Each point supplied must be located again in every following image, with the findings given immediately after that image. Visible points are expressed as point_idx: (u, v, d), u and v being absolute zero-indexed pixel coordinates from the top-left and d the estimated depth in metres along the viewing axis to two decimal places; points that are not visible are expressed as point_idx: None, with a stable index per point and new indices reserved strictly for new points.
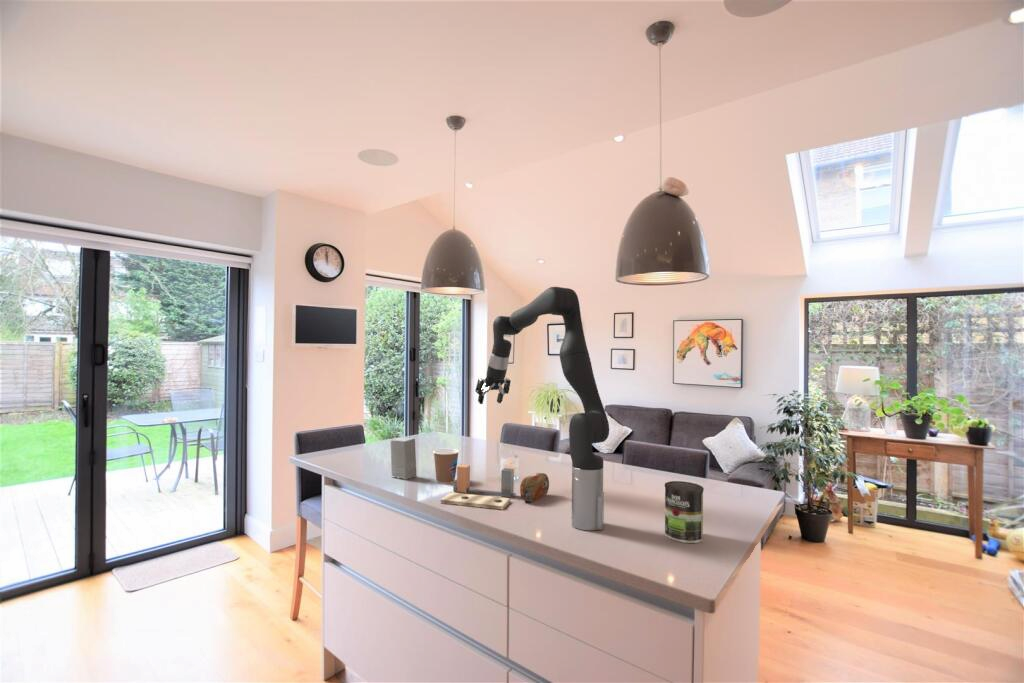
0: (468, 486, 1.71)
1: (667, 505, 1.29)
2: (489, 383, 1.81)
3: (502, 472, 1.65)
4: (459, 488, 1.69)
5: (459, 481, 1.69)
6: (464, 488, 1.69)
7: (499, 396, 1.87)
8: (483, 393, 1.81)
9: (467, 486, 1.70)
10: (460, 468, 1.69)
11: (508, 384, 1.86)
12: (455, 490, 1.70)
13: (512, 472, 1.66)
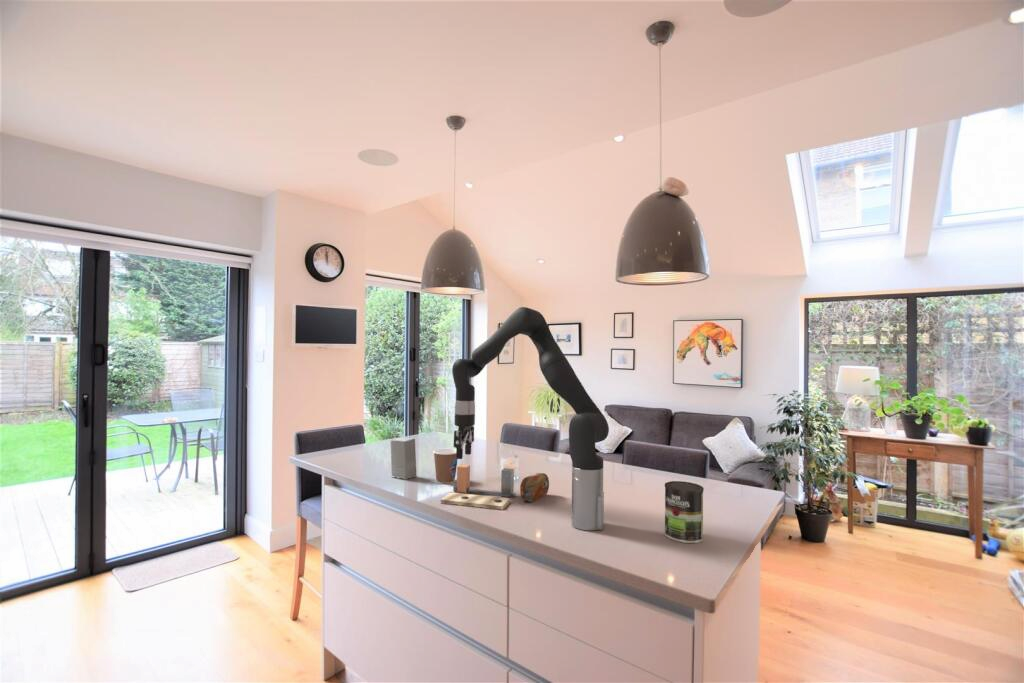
0: (468, 486, 1.71)
1: (667, 505, 1.29)
2: (464, 433, 1.69)
3: (502, 472, 1.65)
4: (459, 488, 1.69)
5: (459, 481, 1.69)
6: (464, 488, 1.69)
7: (468, 447, 1.75)
8: (462, 445, 1.67)
9: (467, 486, 1.70)
10: (460, 468, 1.69)
11: (473, 431, 1.77)
12: (455, 490, 1.70)
13: (512, 472, 1.66)
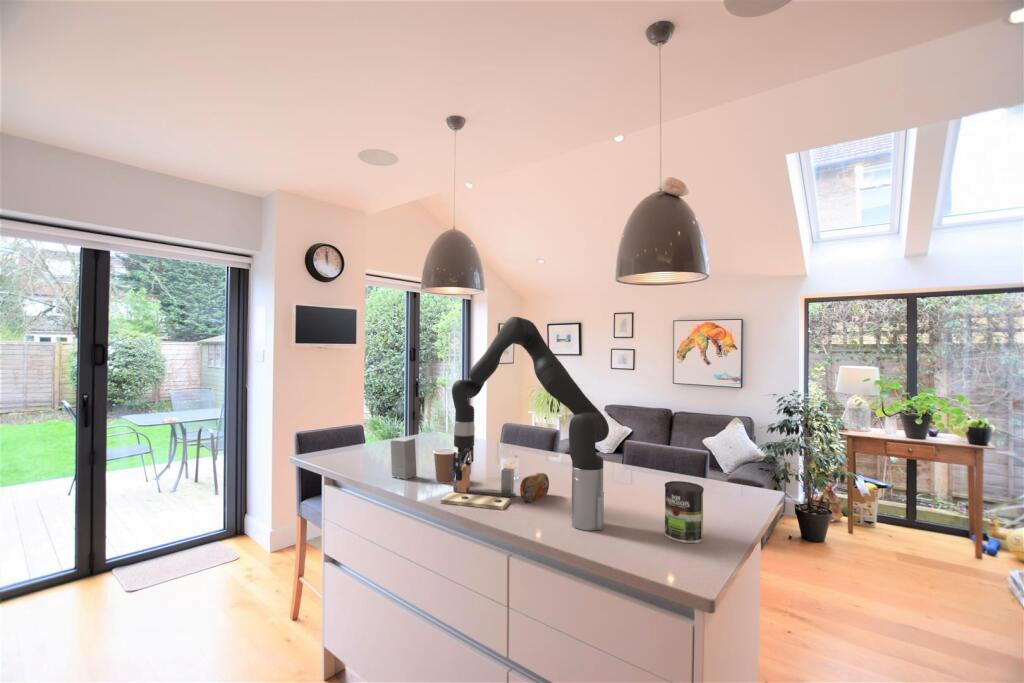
0: (468, 486, 1.71)
1: (667, 505, 1.29)
2: (463, 454, 1.68)
3: (502, 472, 1.65)
4: (459, 488, 1.69)
5: (459, 481, 1.69)
6: (464, 488, 1.69)
7: None
8: (461, 467, 1.66)
9: (467, 486, 1.70)
10: None
11: (472, 451, 1.77)
12: (455, 490, 1.70)
13: (512, 472, 1.66)
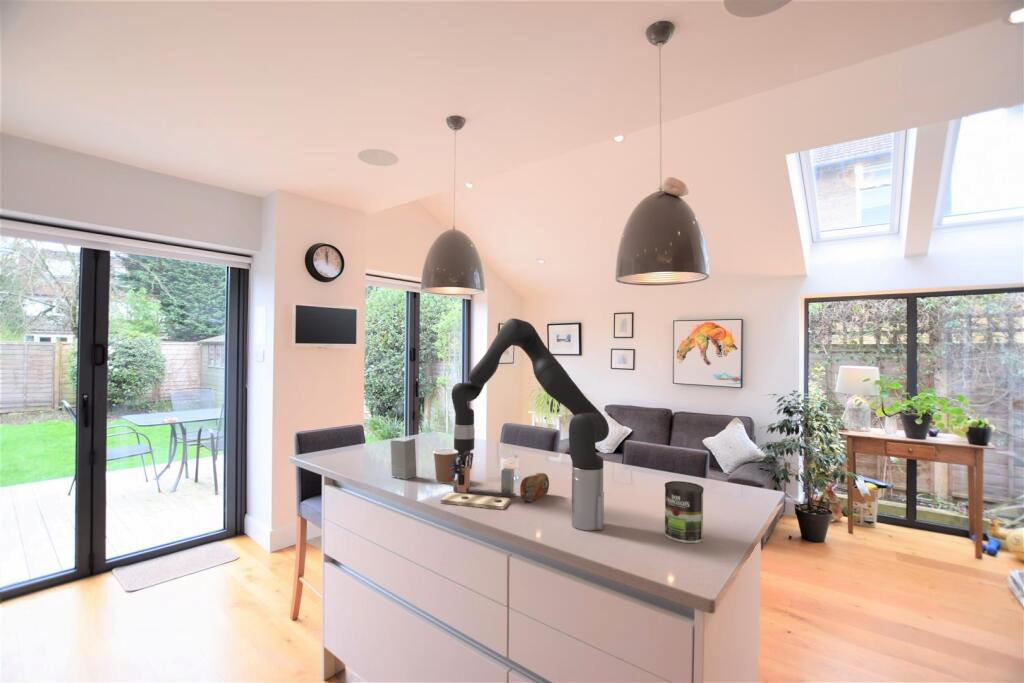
0: (468, 486, 1.71)
1: (667, 505, 1.29)
2: (463, 459, 1.68)
3: (502, 472, 1.65)
4: (459, 488, 1.69)
5: None
6: (464, 488, 1.69)
7: None
8: (463, 472, 1.68)
9: (467, 486, 1.70)
10: None
11: (472, 458, 1.76)
12: (455, 490, 1.70)
13: (512, 472, 1.66)
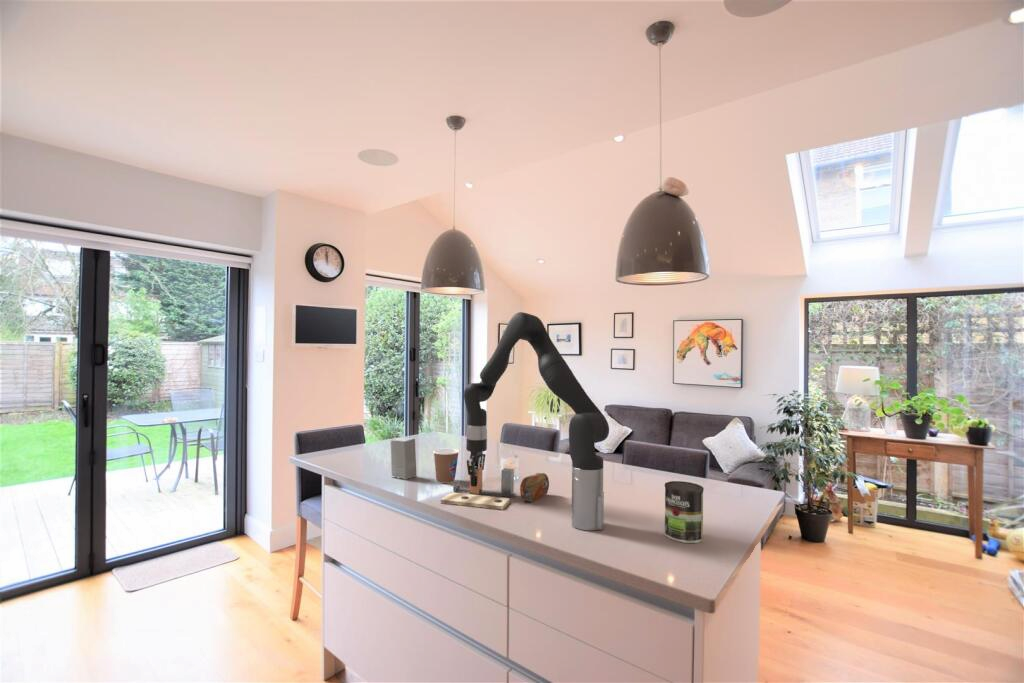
0: (481, 487, 1.69)
1: (667, 505, 1.29)
2: (476, 460, 1.67)
3: (502, 472, 1.65)
4: (472, 490, 1.68)
5: None
6: (477, 489, 1.67)
7: None
8: (476, 473, 1.67)
9: (480, 487, 1.68)
10: None
11: (484, 459, 1.75)
12: (455, 490, 1.70)
13: (512, 472, 1.66)
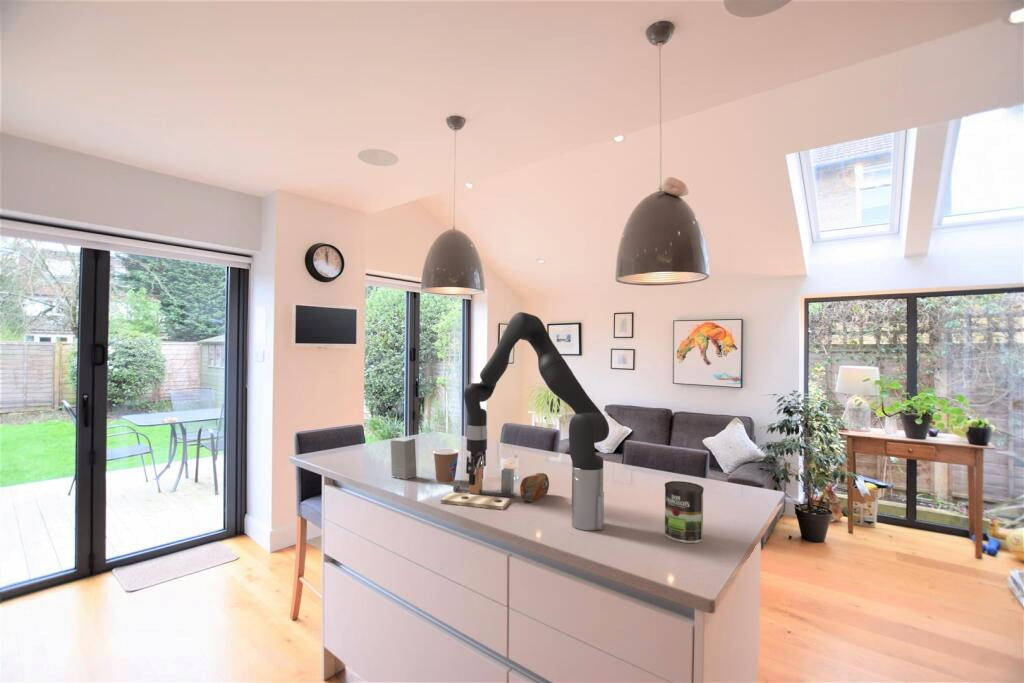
0: (481, 487, 1.69)
1: (667, 505, 1.29)
2: (476, 458, 1.67)
3: (502, 472, 1.65)
4: (472, 490, 1.68)
5: None
6: (477, 489, 1.67)
7: None
8: (474, 471, 1.65)
9: (480, 487, 1.68)
10: None
11: (485, 455, 1.75)
12: (455, 490, 1.70)
13: (512, 472, 1.66)
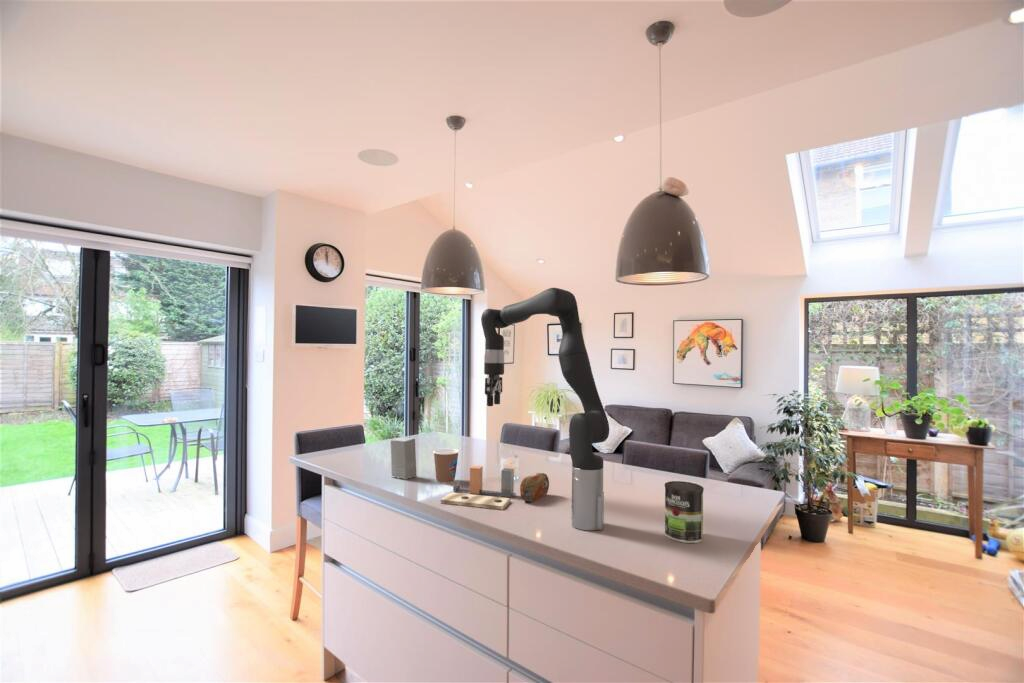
0: (481, 487, 1.69)
1: (667, 505, 1.29)
2: (494, 381, 1.71)
3: (502, 472, 1.65)
4: (472, 490, 1.68)
5: (472, 483, 1.68)
6: (477, 489, 1.67)
7: (497, 397, 1.78)
8: (493, 393, 1.69)
9: (480, 487, 1.68)
10: (473, 469, 1.68)
11: (501, 381, 1.80)
12: (455, 490, 1.70)
13: (512, 472, 1.66)
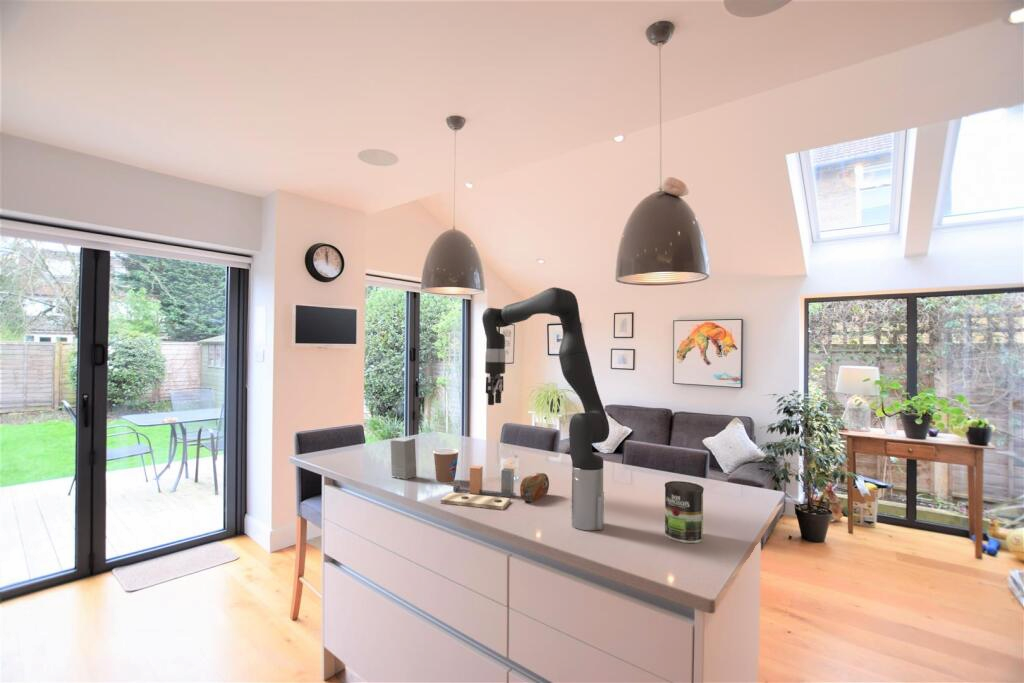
0: (481, 487, 1.69)
1: (667, 505, 1.29)
2: (495, 380, 1.71)
3: (502, 472, 1.65)
4: (472, 490, 1.68)
5: (472, 483, 1.68)
6: (477, 489, 1.67)
7: (498, 396, 1.78)
8: (493, 392, 1.69)
9: (480, 487, 1.68)
10: (473, 469, 1.68)
11: (502, 380, 1.80)
12: (455, 490, 1.70)
13: (512, 472, 1.66)
